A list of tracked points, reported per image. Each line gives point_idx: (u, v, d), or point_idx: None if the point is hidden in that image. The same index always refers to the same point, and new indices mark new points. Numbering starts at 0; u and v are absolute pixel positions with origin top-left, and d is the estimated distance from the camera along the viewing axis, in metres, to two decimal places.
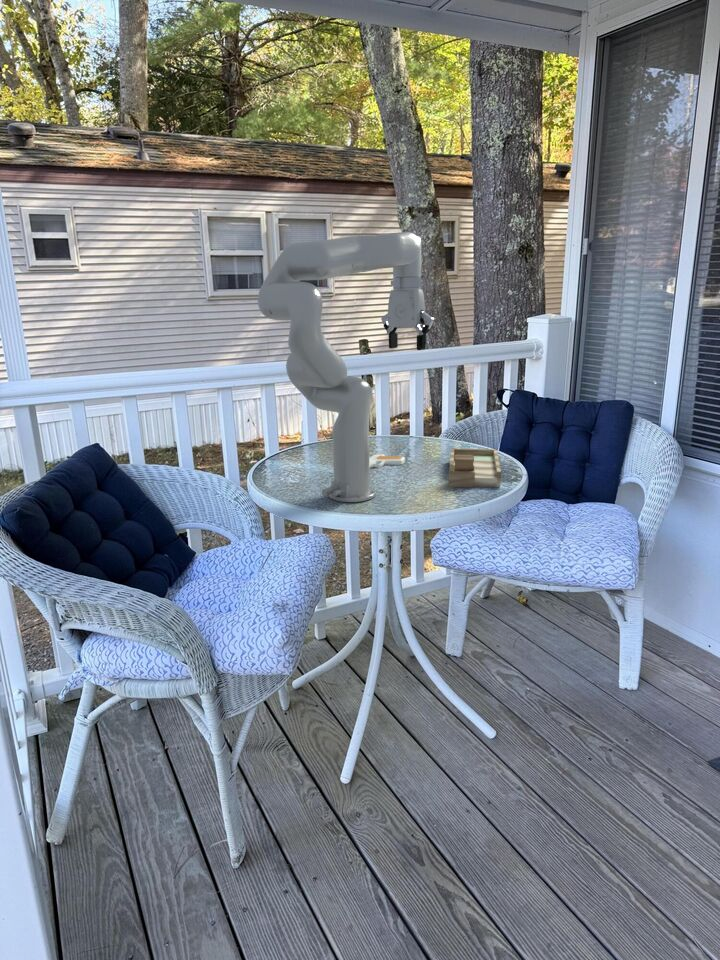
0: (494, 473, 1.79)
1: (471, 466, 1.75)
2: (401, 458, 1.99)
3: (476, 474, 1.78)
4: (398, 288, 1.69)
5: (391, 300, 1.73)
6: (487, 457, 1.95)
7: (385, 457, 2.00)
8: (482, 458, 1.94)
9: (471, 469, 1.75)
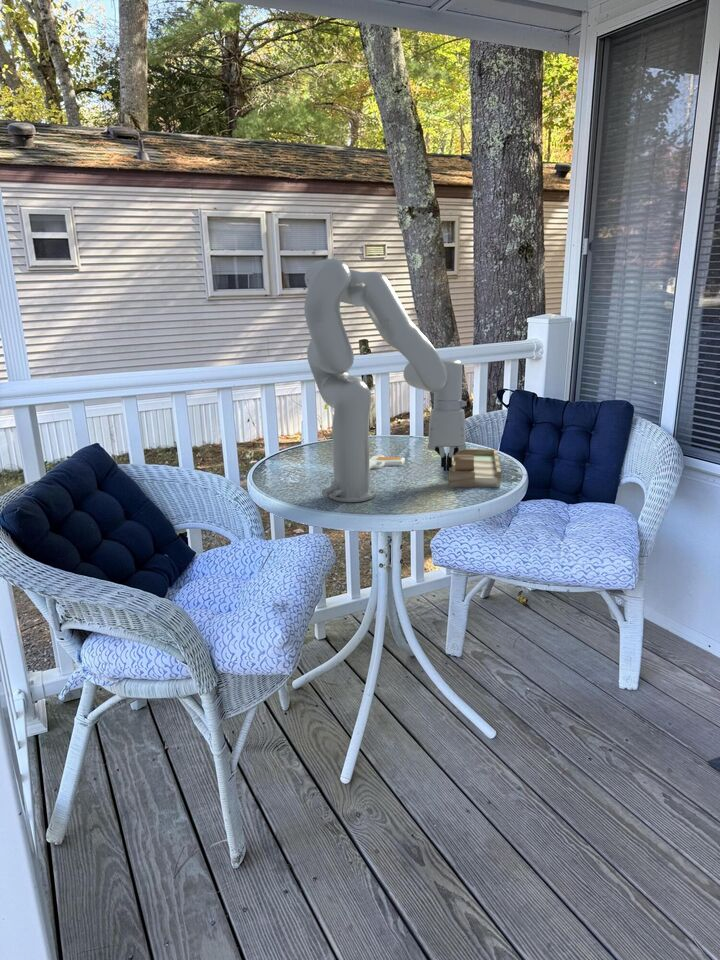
0: (494, 473, 1.79)
1: (471, 466, 1.75)
2: (401, 459, 1.99)
3: (476, 474, 1.78)
4: None
5: None
6: (487, 457, 1.95)
7: (385, 458, 1.99)
8: (482, 458, 1.94)
9: (471, 469, 1.75)
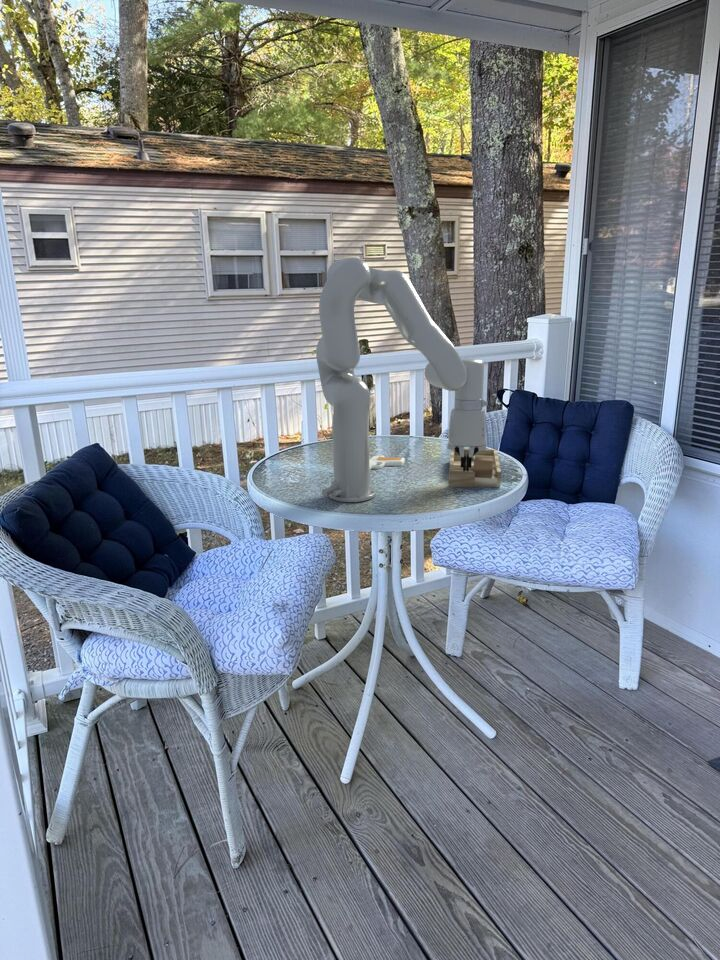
0: (494, 473, 1.79)
1: (490, 467, 1.74)
2: (401, 459, 1.98)
3: None
4: None
5: None
6: None
7: (385, 458, 1.99)
8: None
9: (490, 470, 1.74)
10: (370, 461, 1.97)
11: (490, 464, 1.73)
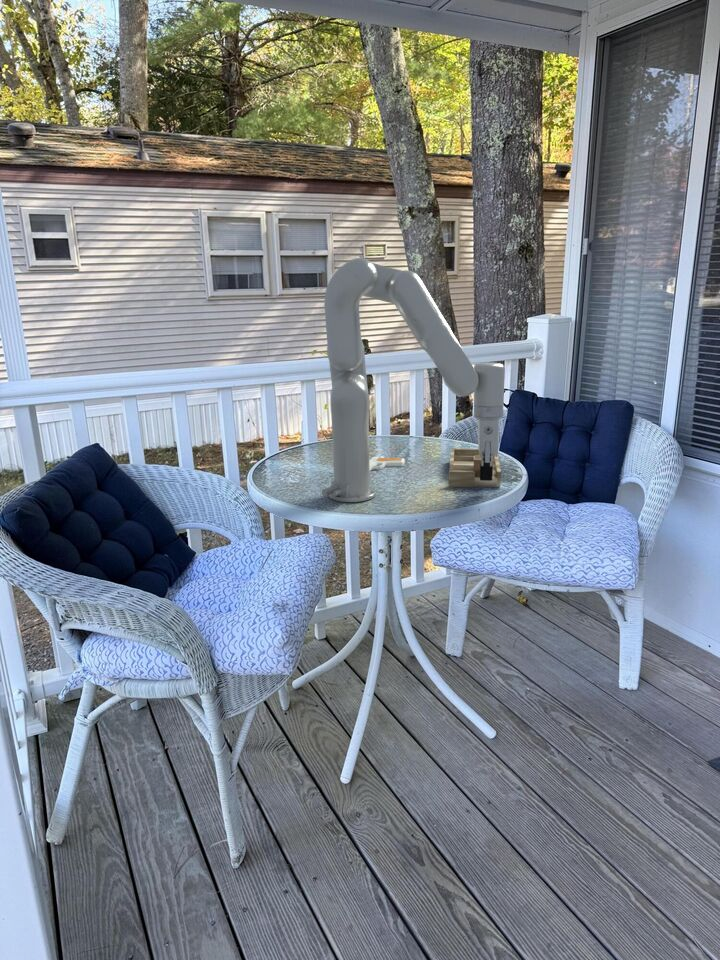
0: (494, 473, 1.79)
1: None
2: (401, 460, 1.98)
3: None
4: None
5: (498, 430, 1.62)
6: None
7: (385, 459, 1.98)
8: None
9: None
10: (370, 462, 1.96)
11: None
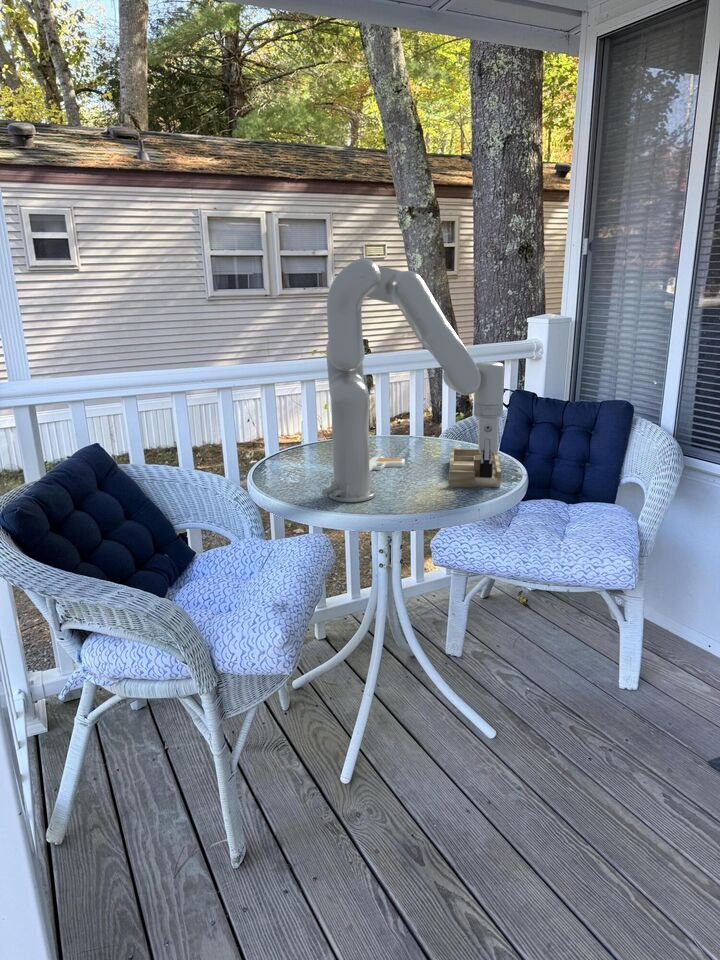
0: (494, 473, 1.79)
1: None
2: (401, 460, 1.98)
3: None
4: (502, 413, 1.67)
5: None
6: None
7: (385, 459, 1.98)
8: None
9: None
10: (370, 462, 1.95)
11: None
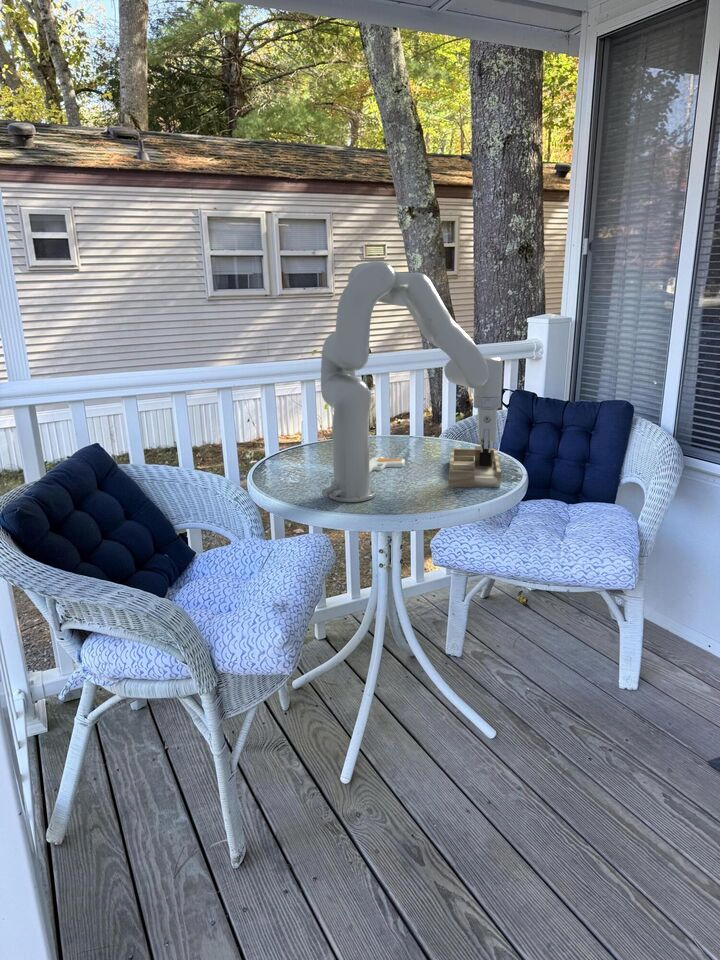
0: (494, 473, 1.79)
1: (491, 456, 1.84)
2: (401, 460, 1.97)
3: (476, 474, 1.78)
4: (500, 405, 1.77)
5: (496, 418, 1.75)
6: None
7: (385, 459, 1.97)
8: None
9: (491, 459, 1.84)
10: (371, 463, 1.95)
11: (491, 454, 1.84)
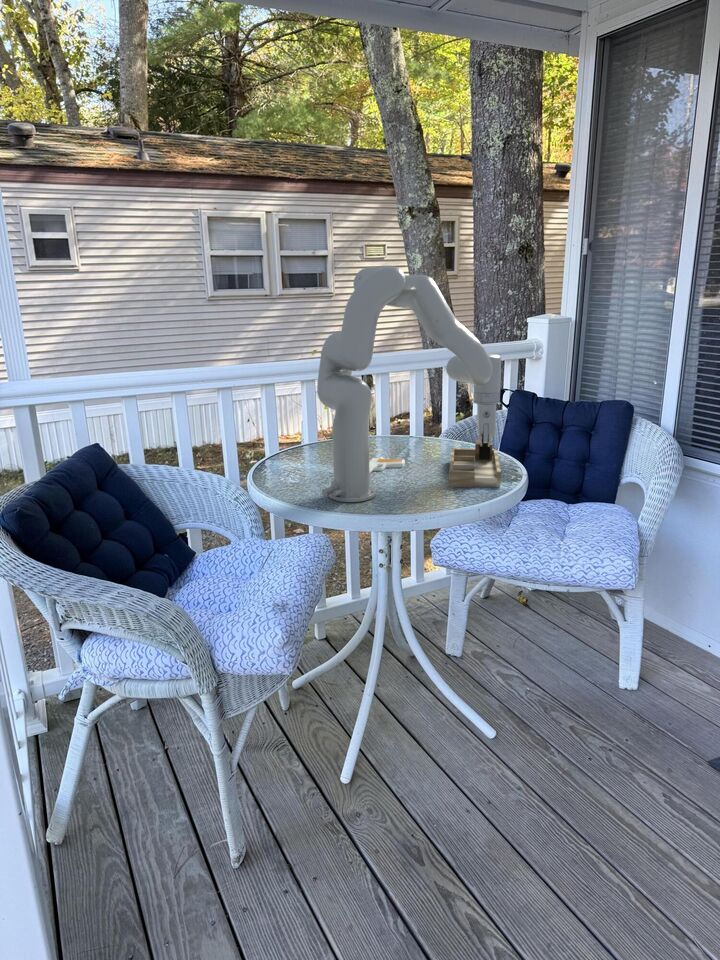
0: (494, 473, 1.79)
1: (490, 451, 1.91)
2: (402, 460, 1.97)
3: (476, 474, 1.78)
4: (499, 401, 1.84)
5: (495, 414, 1.82)
6: None
7: (385, 460, 1.97)
8: None
9: (490, 453, 1.91)
10: (371, 463, 1.94)
11: (490, 448, 1.91)
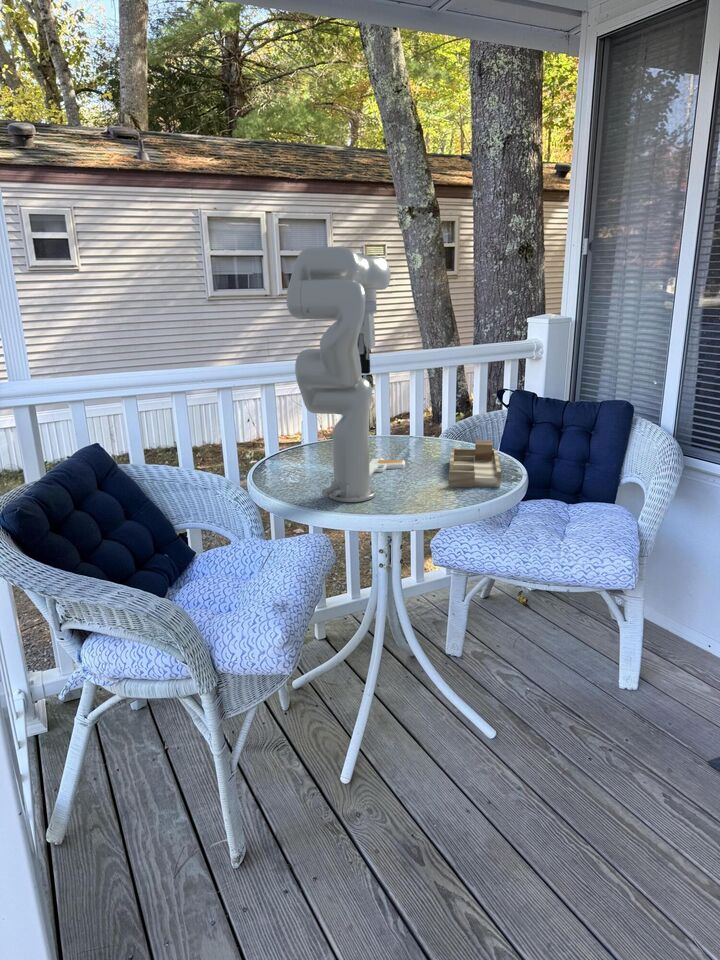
0: (494, 473, 1.79)
1: (490, 451, 1.91)
2: (402, 461, 1.96)
3: (476, 474, 1.78)
4: None
5: (371, 324, 1.79)
6: None
7: (386, 461, 1.96)
8: None
9: (490, 453, 1.91)
10: (371, 464, 1.93)
11: (490, 448, 1.91)
